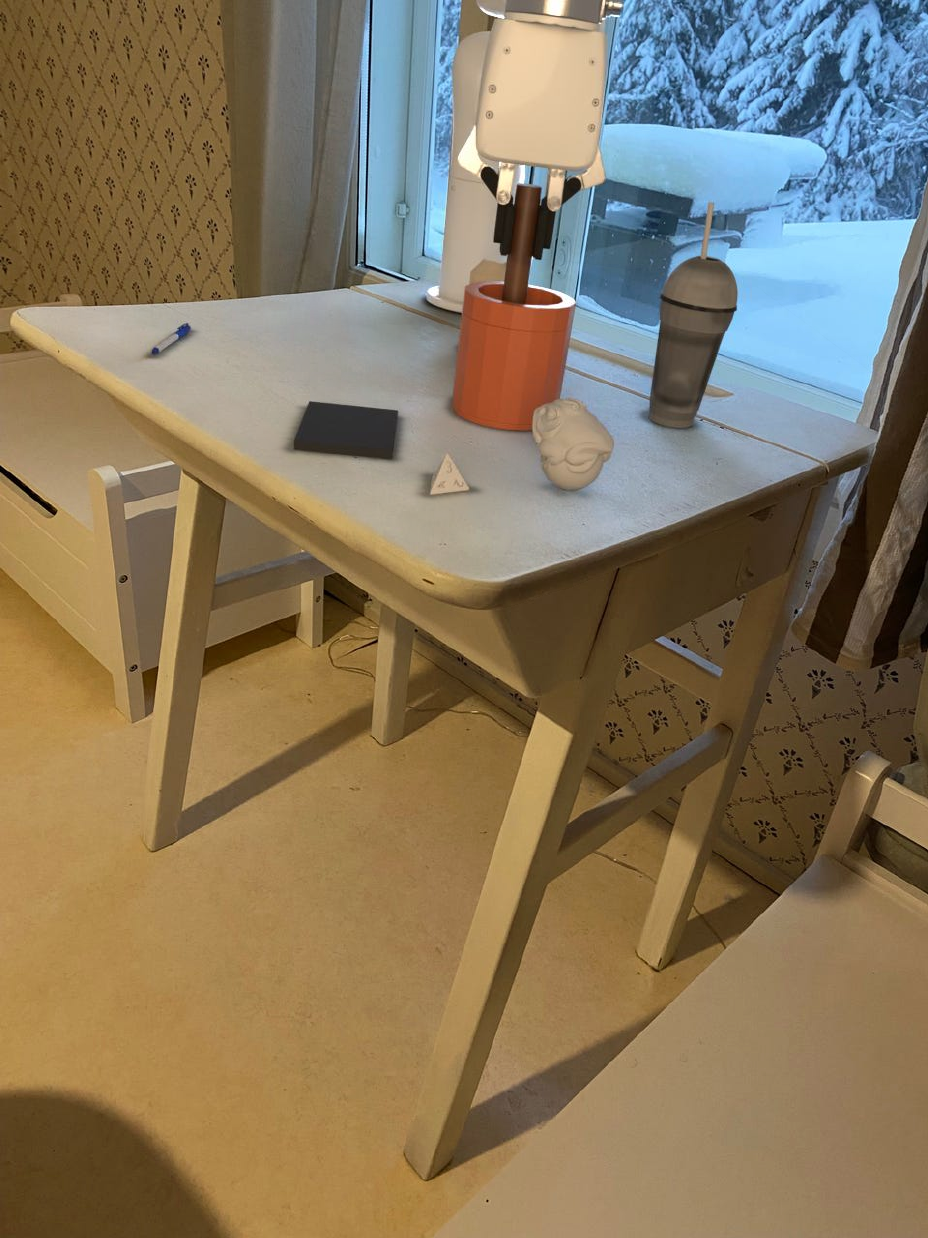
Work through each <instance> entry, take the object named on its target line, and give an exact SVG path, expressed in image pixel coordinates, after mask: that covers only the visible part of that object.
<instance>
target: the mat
mask: <svg viewBox="0 0 928 1238" xmlns="http://www.w3.org/2000/svg"><path fill="white" fill-rule="evenodd" d="M398 418H399V410H397V409H388V408H379V407H368V406H360V405H350V404H341V403H333V402H332V403H331V402H322V401H321V402H320V401H312V400H309V401H308V404H307V406H306V408H305V412H304V413H303V416H302V419H301V422H300V423H299V426H298V429H297V430H296V431H297V432H296V434H295V436H294V439H293V450H297V451H307V452H316V453H327V454H336V455H347V456H355V457H366V458H375V459H376V458H377V459H385V460H386V459H387V460H393V457H394V448H395V442H396V435H397V434H396V433H397V427H398V420H399V419H398Z"/></svg>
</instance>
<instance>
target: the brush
mask: <svg viewBox="0 0 928 1238" xmlns="http://www.w3.org/2000/svg"><path fill="white" fill-rule="evenodd" d="M542 194H543V186H541V185H537V184H534V183H533V184H532V183H525V182H524V183H518V184H517V186H516V193H515V201H514V207H515V215H514V222H513V230H512V238H511V245H510V253H509V255H507V262H506V270H505V278H504V285H503V293H502V301H506V302H511V303H518V304H526V299H527V292H528V285H530V277H531V271H532V264H533V249H534V242H535V235H536V228H537V221H538V214H539V208H540V205H541V200H542Z"/></svg>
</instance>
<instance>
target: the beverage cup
mask: <svg viewBox="0 0 928 1238" xmlns="http://www.w3.org/2000/svg"><path fill="white" fill-rule="evenodd" d="M714 208H715V202H710V201H709V202H708V205H707V212H706V217H705V223H704V224H705V225H704V231H703V236H702V244H701V249H700V255H697V256H693V257H690V258H687V259H685V260H684V261H682V262H680V263H679V264H678V265H676V267H675V268H674V269H673V270H672V271H671V272H670V274H669V275H668V277H667V279H666V280H665V282H664V285H663V288H662V291H661V293H660V295H659V299H660V304H659V329H658V336H657V343H656V351H655V358H654V365H653V366H654V367H653V372H652V380H651V387H650V394H649V406H648V407H649V408H648V414H647V418H648V419H649V420H650V421H651V422H653V423H656V424H657V425H660V426H664V427H668V428H676V429H685V428H687V429H688V428H691V427H692V426H693V424H694V421H695V419H696V416H697V414H698V411H699V409H700V407H701V404H702V400H703V398H704V395H705V392H706V389H707V387H708V383H709V380H710V378H711V374H712V371H713V369H714V366H715V363H716V360H717V357H718V355H719V351H720V348H721V345H722V343H723V341H724V338H725V337H724V336H725V334H726V332H727V331H728V330H729V327H730V326H731V323H732V321H733V318H734V315H735V312H737V311H738V305H737V304H738V296H739V295H738V294H739V290H738V283H737V281H736V278H735V274H734V272H733V270H732V269H731V268H730V266H729V265H727V263H725V262H724V261H723V260H721V259H719V258H717V257H714V256H708V248H709V242H710V235H711V228H712V222H713V214H714Z"/></svg>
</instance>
